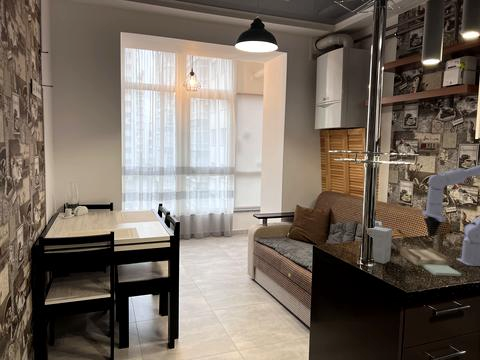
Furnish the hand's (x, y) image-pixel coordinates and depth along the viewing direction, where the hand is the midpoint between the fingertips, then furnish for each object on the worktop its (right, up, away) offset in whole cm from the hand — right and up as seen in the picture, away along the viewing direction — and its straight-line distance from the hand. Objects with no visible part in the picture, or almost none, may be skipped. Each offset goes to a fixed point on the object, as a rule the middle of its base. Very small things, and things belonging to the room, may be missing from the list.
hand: (431, 235), depth 151 cm
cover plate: (-5, -11, -16) cm, 21 cm away
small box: (-25, -9, -6) cm, 28 cm away
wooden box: (-5, -10, -4) cm, 12 cm away
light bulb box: (-19, -7, +17) cm, 26 cm away
